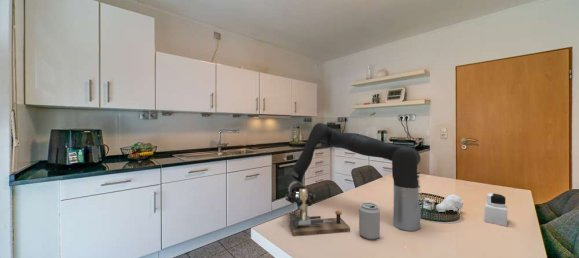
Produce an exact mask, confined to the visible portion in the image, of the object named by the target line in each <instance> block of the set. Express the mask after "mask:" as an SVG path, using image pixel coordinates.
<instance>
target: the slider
mask: <svg viewBox="0 0 579 258" xmlns="http://www.w3.org/2000/svg"><path fill="white" fill-rule="evenodd" d="M307 192H308V189H307V188H306V187H305V188H301V189H300V200H301V206H299V216H296V217H297V219H298V225H308V224H311V223H323V220H312V219H322V218H321V215H314V216H313V215H312V216H309V215H308V204H307ZM311 220H312V221H311Z"/></svg>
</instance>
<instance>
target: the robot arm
mask: <svg viewBox="0 0 579 258" xmlns="http://www.w3.org/2000/svg"><path fill="white" fill-rule="evenodd" d="M320 142H321V143H324V144H330V145H334V146H338V147H341V148H343V149H344V150H347V151H349V152H352V153H355V154H358V155H362V156H367V157H372V158H373V157H374V158H381V159H384V160H387V161H390V162H391V167H392V168H391V171H392V173H391V176H392V179H393V221H392V222H393V224H392V225H393V226H394V227H396V229H400V230H403V231H406V232H413V231H414V232H415V231H418V229H421V216H422V215H421V214H422V213H421V212H422V210H421V209H422V208H421V204H420V203H419V188H420V187H419V179H418V165H419V164H420V162H421V155H420V153H419V151H418V150H417V149H415V148H414V147H412V146H407V145H406V146H405V145H399V144H393V143H389V142H386V141H383V140H379V139H377V138H374V137H370V136H367V135H365V134H360V133H356V132H341V131H339V130H336V129H335V128H334V129H333V128H331V127H329V126H328V125H326V124H325V123H322V122H317V123H316V124H315V125H314V126H313V127H312V129H311V131H310V134H309V135H308V138H307V140H306V142H305V145H304V147H303V149H302V151H301V154H300V156H299V157H298V159H297V161H296V162H295V163H294V166H293V168H292V169H293V171H294V172H295V173H296V174H297V175H298V176H295V175H294V174H292V173H285V174H284V175H283V177H282V179H281V183H282V185H283V186H284V188H286V189H287V191H288V193H285V201H287V202H288V203H290V204H296V206H299V207H300V206H301V200H300V189H301V188H306V187H305V186H304V185H303V179H304V176H305V174H306V172H307V170H308V168H309V167H310V165H311V163H312V160H313V158H314V153H315V150H316V148H317V146H318V144H319V143H320ZM315 199H316V192H314V191H312V192H311V193H310V192H308V191H307V207H308V206H309V207H311V205H312V204H313V203H314V202H315Z"/></svg>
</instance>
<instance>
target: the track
mask: <svg viewBox="0 0 579 258" xmlns="http://www.w3.org/2000/svg"><path fill="white" fill-rule="evenodd" d="M334 213H335V215H336V217H330V218H321V219H310V220H311V221H312V220H323V223H311V224H308V225H298V219H297V217H298V216H297V214H296V213H294V212H293V213H290V217H289V218H290V219H289V227H290V230H291V233H292V236H293V237H300V236H311V235H323V234H324V235H325V234H336V233H337V234H338V233H350V232H351V227H350V226H349V225H348V224H347V222H346V221H345V220H343V218H342V217H341V215H342V211H341V210H335V211H334Z"/></svg>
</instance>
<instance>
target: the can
mask: <svg viewBox="0 0 579 258" xmlns="http://www.w3.org/2000/svg"><path fill="white" fill-rule="evenodd" d="M380 211H381V209H380V208H379V205H378V204H376V203H373V202H367V201H366V202H362V203H361V204H360V206H359V209H358V213H359V214H358V220H359V222H358V233H359V234H360V235H361V237H362V238H364V239H367V240H371V241H372V240H377V239H378V238H379V237H380V233H381V231H380V229H381V228H380V227H381V226H380V225H381V223H380V222H381V216H380V215H381V212H380Z"/></svg>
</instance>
